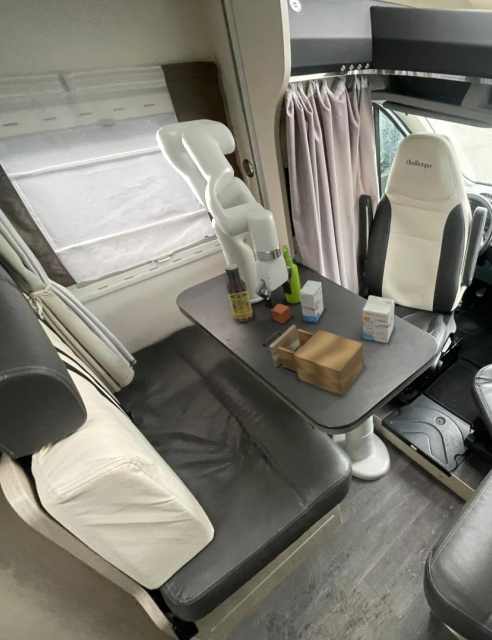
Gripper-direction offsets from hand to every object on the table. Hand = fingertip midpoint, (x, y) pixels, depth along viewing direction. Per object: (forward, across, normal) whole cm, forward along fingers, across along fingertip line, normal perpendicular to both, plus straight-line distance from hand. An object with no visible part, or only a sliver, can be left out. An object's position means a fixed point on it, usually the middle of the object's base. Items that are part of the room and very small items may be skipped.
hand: (279, 300), depth 122 cm
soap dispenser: (+8, -13, -5) cm, 16 cm away
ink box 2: (+9, -8, +33) cm, 35 cm away
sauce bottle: (+8, +5, -13) cm, 16 cm away
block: (+8, 0, -1) cm, 8 cm away
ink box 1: (+8, -7, +8) cm, 13 cm away
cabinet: (+9, +15, +29) cm, 34 cm away
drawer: (+7, +15, +17) cm, 24 cm away
